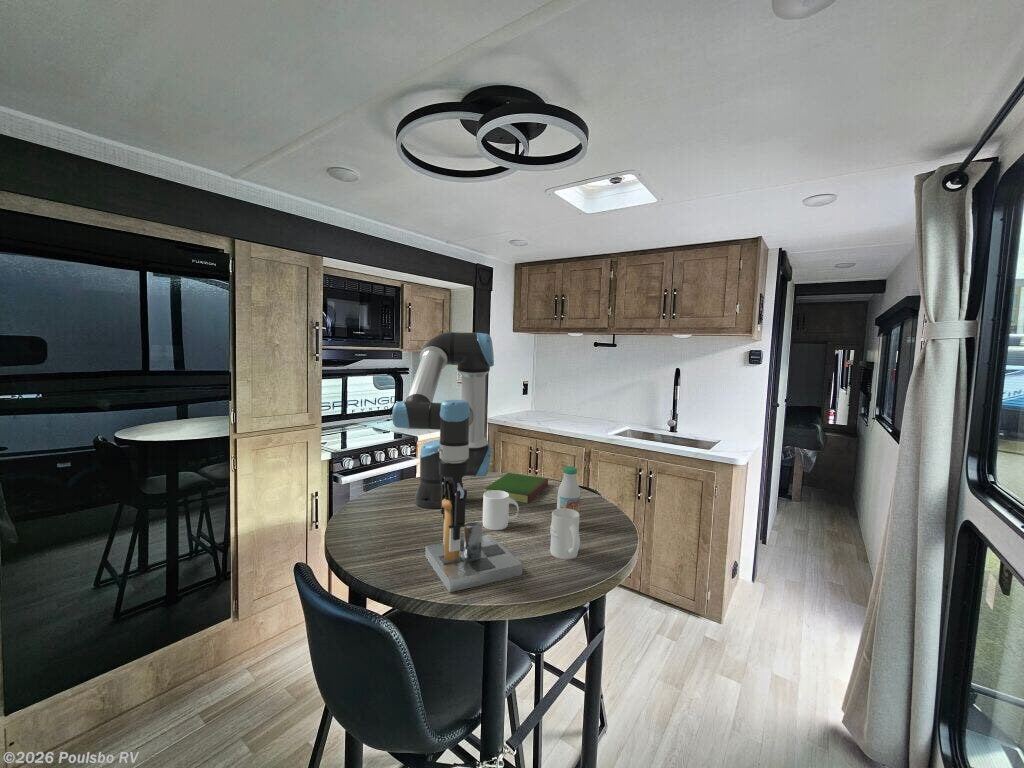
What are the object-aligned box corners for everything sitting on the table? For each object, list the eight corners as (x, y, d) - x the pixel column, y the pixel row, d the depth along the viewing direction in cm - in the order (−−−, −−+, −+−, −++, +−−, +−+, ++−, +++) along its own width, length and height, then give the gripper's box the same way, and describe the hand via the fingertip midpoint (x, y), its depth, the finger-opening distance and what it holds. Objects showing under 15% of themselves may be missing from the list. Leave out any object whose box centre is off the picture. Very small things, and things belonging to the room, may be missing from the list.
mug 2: (563, 568, 119) (565, 525, 118) (545, 548, 130) (546, 509, 129) (589, 563, 121) (591, 522, 120) (569, 545, 133) (571, 507, 132)
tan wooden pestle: (437, 554, 116) (439, 499, 115) (457, 550, 119) (459, 496, 118) (444, 563, 111) (446, 506, 110) (465, 559, 114) (466, 503, 113)
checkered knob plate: (425, 556, 122) (426, 518, 121) (489, 543, 132) (491, 508, 131) (449, 592, 105) (450, 548, 104) (521, 574, 114) (523, 534, 113)
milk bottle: (551, 525, 147) (554, 467, 146) (565, 519, 153) (567, 463, 151) (570, 532, 142) (573, 472, 140) (583, 525, 148) (586, 468, 146)
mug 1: (519, 530, 142) (521, 498, 141) (483, 531, 141) (484, 498, 140) (516, 520, 151) (517, 490, 150) (481, 520, 149) (482, 490, 148)
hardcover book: (528, 504, 168) (529, 495, 167) (484, 497, 175) (485, 487, 174) (548, 486, 191) (548, 478, 190) (508, 480, 198) (509, 472, 197)
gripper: (429, 453, 119) (428, 536, 120) (451, 469, 104) (448, 564, 105) (455, 451, 122) (453, 532, 124) (480, 466, 107) (477, 558, 109)
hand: (451, 546), depth 115 cm, fingers closed on tan wooden pestle, 4 cm apart
